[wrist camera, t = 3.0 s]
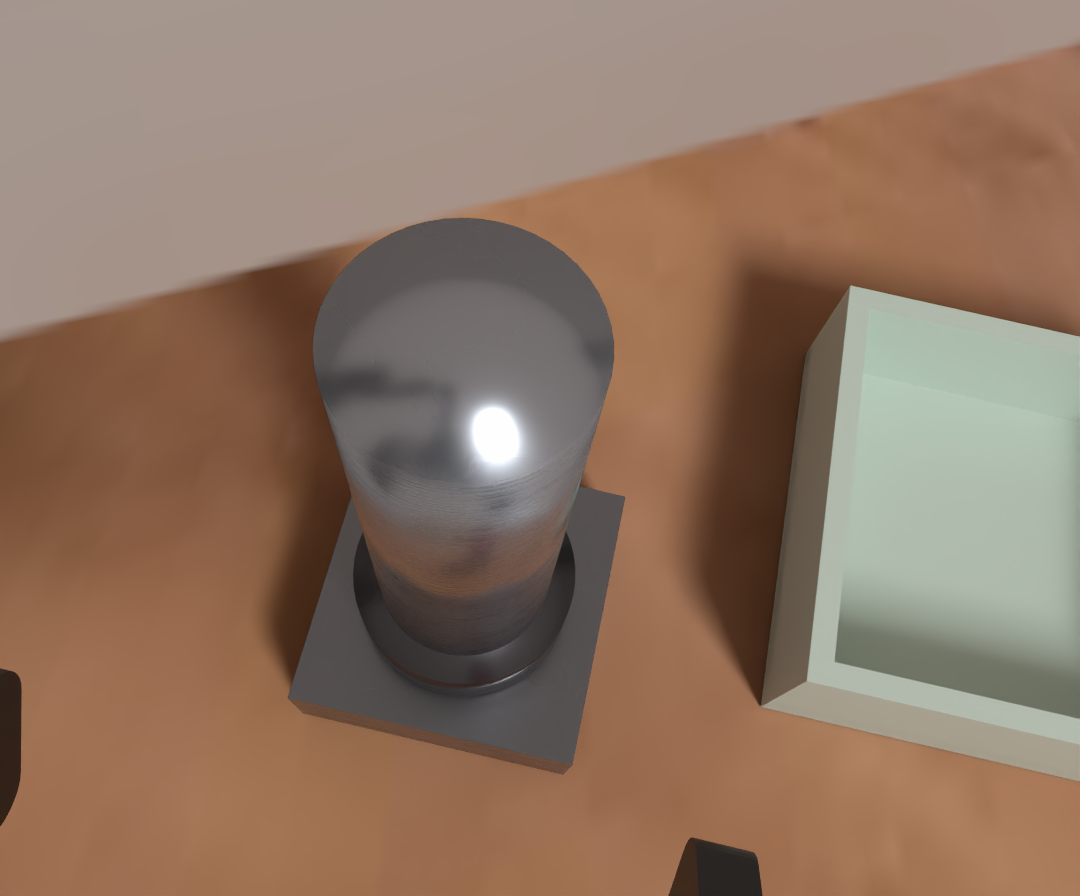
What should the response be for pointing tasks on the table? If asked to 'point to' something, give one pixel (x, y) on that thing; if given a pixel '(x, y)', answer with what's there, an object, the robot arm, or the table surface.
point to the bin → (934, 534)
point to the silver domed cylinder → (463, 441)
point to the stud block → (457, 722)
